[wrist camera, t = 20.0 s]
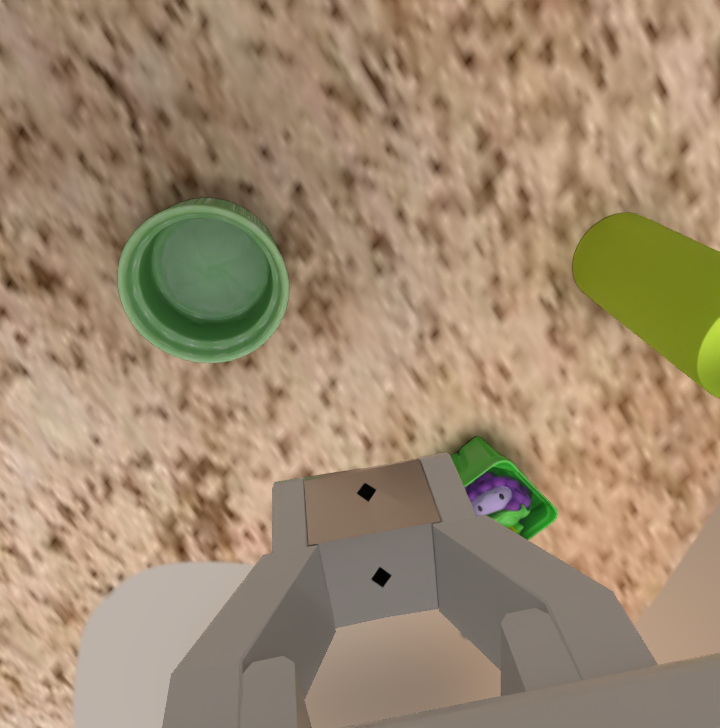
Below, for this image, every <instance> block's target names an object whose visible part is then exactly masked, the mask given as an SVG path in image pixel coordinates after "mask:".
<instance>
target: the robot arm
mask: <svg viewBox="0 0 720 728" xmlns="http://www.w3.org/2000/svg"><path fill="white" fill-rule="evenodd" d="M433 609H439V611H440V612H441V613H442V614H443V615H444V616H445V617H446V618H447V619H448V620H449V621H450V622H451V623H452V624H453V625H454V626H455V627H456V628H457V629H458V630H459V631H460V632H461V633H462V634H463V635H464V636H465V637H467V638H468V639H469V640H470V641H471V642H472V643H473V644H474V645H475V646H476V647H477V648H478V649H479V650H480V651H481V652H482V653H483V654H484V655H485V656H486V657H487V658H488V659H489V660H490V661H491V662H492V663H493V664H494V665H495V666H496V667H498V668H499V669H500V670H501V696H499V697H495V698H489V699H485V700H479V701H474V702H469V703H464V704H459V705H454V706H449V707H444V708H439V709H434V710H429V711H424V712H419V713H414V714H409V715H404V716H399V717H394V718H389V719H383V720H378V721H373V722H368V723H363V724H358V725H353V726H348V727H343V728H720V653H716V654H711V655H706V656H700V657H695V658H690V659H686V660H681V661H675V662H670V663H665V664H660V665H658V664H657V662H656V661H655V659H654V657H653V656H652V654H651V652H650V651H649V649H648V648H647V646H646V644H645V643H644V641H643V640H642V638H641V636H640V635H639V633H638V631H637V630H636V628H635V627H634V625H633V623H632V622H631V620H630V619H629V617H628V615H627V614H626V612H625V610H624V609H623V607H622V606H621V604H620V602H619V601H618V599H617V598H616V596H615V594H614V593H613V591H611V590H609V589H608V588H606V587H604V586H603V585H601V584H600V583H598V582H596V581H595V580H593V579H591V578H590V577H588V576H586V575H585V574H583V573H581V572H580V571H578V570H576V569H575V568H573V567H571V566H570V565H568V564H566V563H565V562H563V561H561V560H560V559H558V558H556V557H555V556H553V555H551V554H550V553H548V552H546V551H545V550H543V549H541V548H540V547H538V546H536V545H535V544H533V543H532V542H530V541H528V540H527V539H525V538H523V537H522V536H520V535H518V534H517V533H515V532H513V531H512V530H510V529H508V528H507V527H505V526H503V525H502V524H500V523H498V522H497V521H495V520H493V519H492V518H490V517H488V516H487V515H481V516H476V513H475V511H474V509H473V506H472V504H471V502H470V500H469V497H468V495H467V493H466V490H465V488H464V486H463V484H462V481H461V479H460V477H459V474H458V472H457V470H456V467H455V465H454V463H453V461H452V458H451V456H450V454H448V453H447V452H444V453H439V454H434V455H429V456H424V457H419V458H418V459H412V460H407V461H401V462H396V463H390V464H385V465H379V466H374V467H368V468H361V469H354V470H348V471H341V472H334V473H328V474H321V475H315V476H308V477H304V478H297V479H291V480H285V481H279V482H274V485H273V488H272V553H270V554H265V555H263V556H262V557H261V558H260V560H259V561H258V562H257V563H256V565H255V566H254V567H253V569H252V570H251V571H250V573H249V574H248V575H247V577H246V578H245V579H244V581H243V582H242V583H241V584H240V586H239V587H238V588H237V590H236V591H235V592H234V593H233V595H232V596H231V597H230V599H229V600H228V601H227V603H226V604H225V605H224V606H223V608H222V609H221V610H220V612H219V613H218V614H217V616H216V617H215V618H214V620H213V621H212V622H211V623H210V625H209V626H208V627H207V629H206V630H205V631H204V632H203V634H202V635H201V637H200V638H199V639H198V640H197V642H196V643H195V644H194V646H193V647H192V648H191V650H190V651H189V652H188V653H187V655H186V656H185V657H184V658H183V660H182V661H181V662H180V664H179V665H178V666H177V668H176V669H175V670H174V672H173V673H172V674H171V679H170V685H169V691H168V696H167V702H166V708H165V714H164V720H163V726H162V728H312V727H311V723H310V719H309V716H308V712H307V708H306V704H305V701H304V700H305V698H306V695H307V693H308V691H309V689H310V687H311V685H312V682H313V680H314V678H315V676H316V673H317V671H318V669H319V667H320V665H321V663H322V660H323V658H324V656H325V654H326V652H327V650H328V647H329V645H330V643H331V641H332V639H333V636H334V634H335V632H336V631H335V628H338V627H343V626H348V625H352V624H357V623H361V622H366V621H371V620H375V619H380V618H384V617H390V616H396V615H402V614H409V613H415V612H421V611H427V610H433Z"/></svg>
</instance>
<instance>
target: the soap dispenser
mask: <svg viewBox="0 0 720 728" xmlns="http://www.w3.org/2000/svg"><path fill="white" fill-rule="evenodd" d="M573 276H574V279H575V282H576V284H577V286H578V287H579V288H580V290H581V291H582V292H583V293H584V294H586V295H587V296H588V297H589V298H591V299H592V300H593V301H594V302H596V303H597V304H598V305H599V306H601V307H602V308H603V309H604V310H606V311H607V312H608V313H610V314H611V315H612V316H613V317H615V318H616V319H617V320H618V321H620V322H621V323H622V324H623V325H625V326H626V327H627V328H628V329H630V330H631V331H632V332H633V333H635V334H636V335H637V336H638V337H640V338H641V339H642V340H643V341H645V342H646V343H647V344H648V345H650V346H651V347H652V348H653V349H655V350H656V351H657V352H658V353H660V354H661V355H662V356H663V357H665V358H666V359H667V360H668V361H670V362H671V363H672V364H673V365H675V366H676V367H677V368H678V369H680V370H681V371H682V372H683V373H685V374H686V375H687V376H688V377H690V378H691V379H692V380H693V381H695V382H696V383H697V384H698V385H700V386H701V387H702V388H703V389H705V390H706V391H707V392H709V393H710V394H711V395H713V396H715V397H717V398H720V252H719V251H717V250H715V249H712V248H710V247H708V246H706V245H704V244H702V243H699V242H697V241H695V240H693V239H691V238H689V237H687V236H684V235H682V234H680V233H678V232H676V231H674V230H671V229H669V228H667V227H665V226H663V225H661V224H658V223H656V222H654V221H652V220H650V219H648V218H645V217H643V216H641V215H638V214H634V213H620V214H615V215H612V216H609V217H607V218H605V219H603V220H601V221H600V222H598V223H597V224H595V225H594V226H593V227H592V228H591V229H590V230H589V231H588V232H587V233H586V234H585V235H584V237H583V238H582V240H581V241H580V243H579V245H578V247H577V249H576V251H575V255H574V259H573Z"/></svg>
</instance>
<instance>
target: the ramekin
mask: <svg viewBox="0 0 720 728" xmlns="http://www.w3.org/2000/svg"><path fill="white" fill-rule="evenodd" d="M117 285H118V292H119V296H120V300H121V303H122V306H123V309H124V311H125V313H126V315H127V316H128V318H129V320H130V321H131V323H132V324H133V326H134V327H135V328H136V329H137V331H138V332H139V333H140V334H141V335H142V336H143V337H144V338H145V339H146V340H147V341H149V342H150V343H151V344H153V345H154V346H155V347H157V348H159V349H160V350H162V351H164V352H166V353H168V354H170V355H172V356H175V357H178V358H181V359H184V360H188V361H193V362H200V363H220V362H226V361H231V360H235V359H237V358H240V357H243V356H245V355H247V354H249V353H251V352H253V351H254V350H256V349H257V348H259V347H260V346H261V345H263V344H264V343H265V342H266V341H267V340H268V339H269V338H270V337H271V336H272V334H273V333H274V332H275V331H276V329H277V328H278V326H279V324H280V323H281V321H282V319H283V316H284V314H285V311H286V308H287V304H288V298H289V278H288V273H287V269H286V266H285V263H284V260H283V258H282V255H281V253H280V252H279V250H278V248H277V246H276V243H275V241H274V240H273V238H272V236H271V234H270V232H269V231H268V230H267V228H266V227H265V226H264V225H263V223H262V222H261V221H260V220H259V219H258V218H257V217H255V216H254V215H253V214H252V213H251V212H249V211H247V210H246V209H244V208H243V207H241V206H239V205H236V204H234V203H232V202H229V201H226V200H222V199H215V198H198V199H190V200H187V201H183V202H180V203H178V204H176V205H173V206H172V207H170V208H168V209H166V210H163V211H161V212H159V213H157V214H155V215H153V216H152V217H150V218H149V219H147V220H146V221H145V222H144V223H142V224H141V225H140V226H139V227H138V228H137V229H136V230H135V231H134V233H133V234H132V235H131V237H130V238H129V239H128V241H127V243H126V244H125V246H124V249H123V251H122V253H121V257H120V260H119V265H118V271H117Z"/></svg>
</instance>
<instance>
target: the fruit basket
mask: <svg viewBox="0 0 720 728" xmlns="http://www.w3.org/2000/svg"><path fill="white" fill-rule="evenodd" d="M451 458H452V461H453V463H454V465H455V467H456V470H457V472H458V474H459V477H460V479H461V481H462V484H463V486H464V488H465V490H466V493H467V495H468V497H469V500H470V502H471V504H472V506H473V509H474V511H475V513H476V516H481V515H487V516H488V517H490V518H492V519H493V520H495V521H497V522H498V523H500V524H502V525H503V526H505V527H507V528H508V529H510V530H512V531H513V532H515V533H517V534H518V535H520V536H522V537H523V538H525V539H527V540H529V539H530V538H532V537H533V536H535V535H536V534H538V533H539V532H540V531H542V530H543V529H544V528H546V527H547V526H549V525H550V524H551V523H553V522H554V521H555V519H556V518H557V515H558V511H557V509H556V507H555V506H554V505H553V504H552V503H551V502H550V501H549V500H548V499H547V498H546V497H545V496H544V495H543V494H542V493H541V492H540V491H539V490H538V489H537V488H536V487H535V486H534V485H533V484H532V483H531V482H530V481H529V480H528V479H527V478H526V477H525V476H524V475H523V474H522V472H521V471H520V470H519V469H518V468H517V467H516V466H515V465H514V464H513V463H512V462H511V461H510V460H509V459H507V458H506V457H504V456H501V455H500V454H499V453H498V452H496V451H495V450H494V449H493V448H492V447H491V446H490V445H488V444H487V443H486V442H485V441H484V440H483V439H482V438H480V437H475V438H473V439H472V440H471V441H470V442H468V443H467V444H466V445H464V446H463V447H462V448H461V449H460V451H459V453H455V454H453V455H451Z"/></svg>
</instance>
